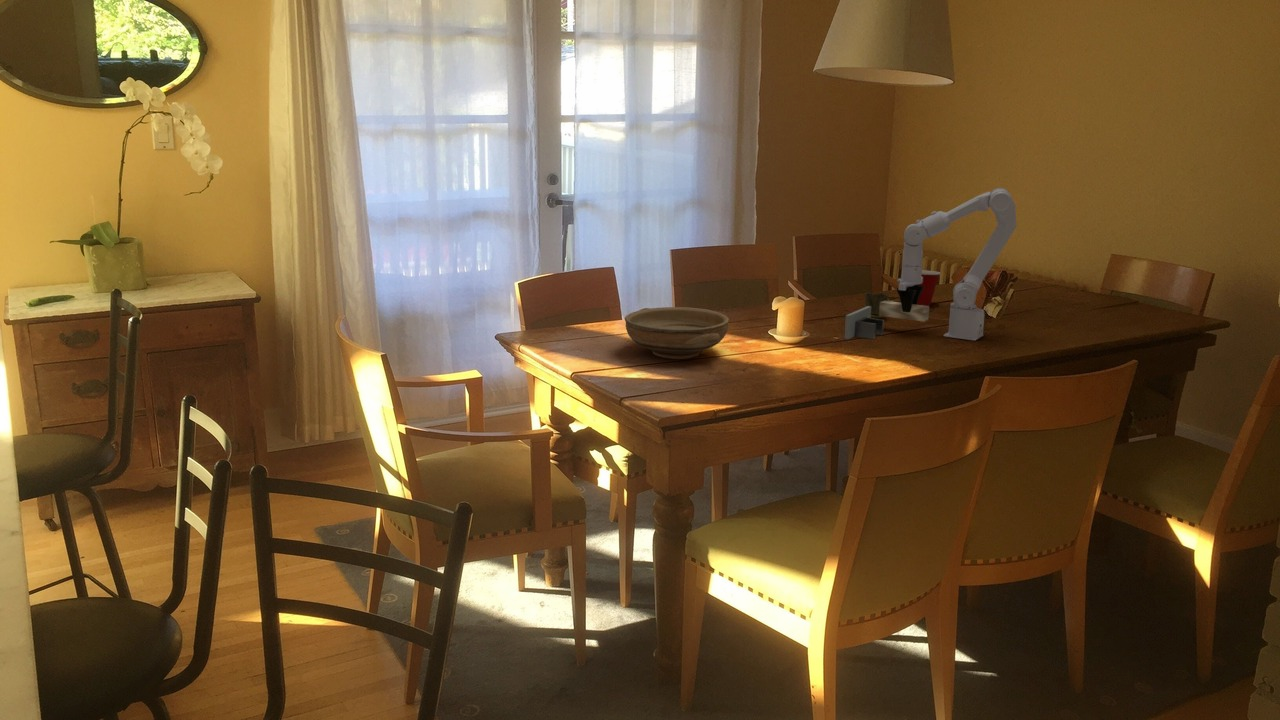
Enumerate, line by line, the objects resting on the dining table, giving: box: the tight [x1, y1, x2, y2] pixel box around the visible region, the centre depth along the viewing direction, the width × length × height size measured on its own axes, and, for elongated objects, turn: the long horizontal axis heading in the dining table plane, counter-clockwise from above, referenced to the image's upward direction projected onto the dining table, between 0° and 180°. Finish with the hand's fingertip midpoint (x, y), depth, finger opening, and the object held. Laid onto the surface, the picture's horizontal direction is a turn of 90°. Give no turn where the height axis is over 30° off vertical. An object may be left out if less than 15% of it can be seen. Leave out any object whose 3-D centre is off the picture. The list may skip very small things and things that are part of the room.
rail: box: [879, 300, 930, 322], centre depth 302 cm, size 14×4×4 cm, turn 54°
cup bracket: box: [853, 317, 885, 340], centre depth 299 cm, size 6×7×4 cm
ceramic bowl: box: [624, 306, 730, 360], centre depth 279 cm, size 37×29×10 cm
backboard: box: [844, 306, 871, 340], centre depth 301 cm, size 1×16×7 cm, turn 145°
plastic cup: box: [917, 269, 942, 308], centre depth 340 cm, size 11×11×12 cm
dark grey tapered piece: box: [864, 291, 890, 319], centre depth 321 cm, size 8×7×8 cm
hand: (909, 310), depth 301 cm, fingers closed on rail, 4 cm apart
